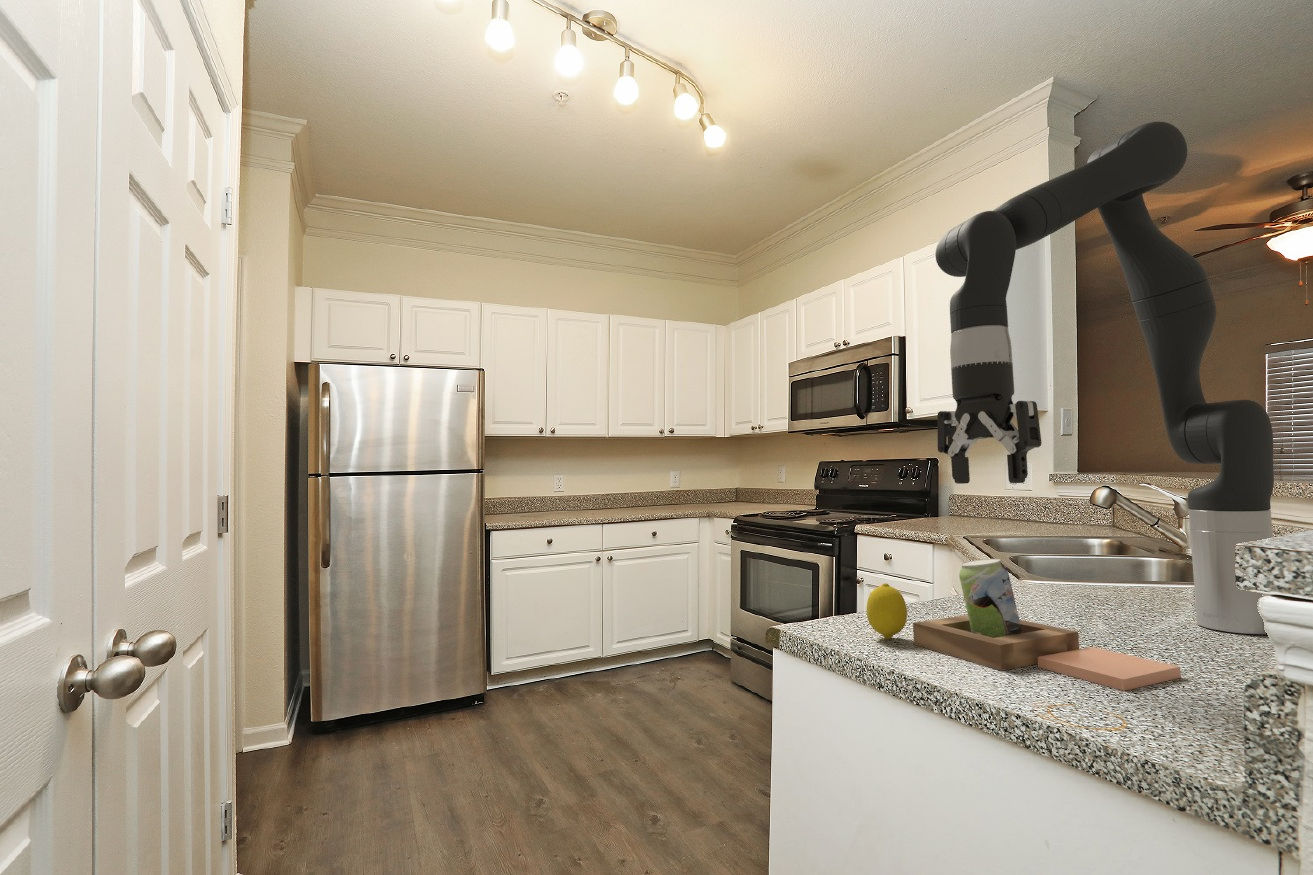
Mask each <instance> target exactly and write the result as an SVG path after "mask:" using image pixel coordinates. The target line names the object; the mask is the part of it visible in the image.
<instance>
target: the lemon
mask: <svg viewBox="0 0 1313 875" xmlns="http://www.w3.org/2000/svg"><path fill="white" fill-rule="evenodd" d="M868 595H869V596H868V598H867V601H866V618H867V621H868V623H869V625H870V626H871V628H872V629H873V630H874V631H875V632H877V633H878V634H879V635H882V637H883V638H884V639H886V640H890V639H891V638H892V637H893V636H895V635H897V634H900V633H901V631H902V630H904V628H905V626H906V624H907V620H908V608H907V604H906V601H905V598H904V596H903V594H901V592H900V591H899V590H898V589H896V588H895V587H893V586H890V585H889V583H887V582H885V583H882V584H881V585H880V586H878V587H876V588H874V589H873V590H872V591H871V592H870V593H869V594H868Z"/></svg>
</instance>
